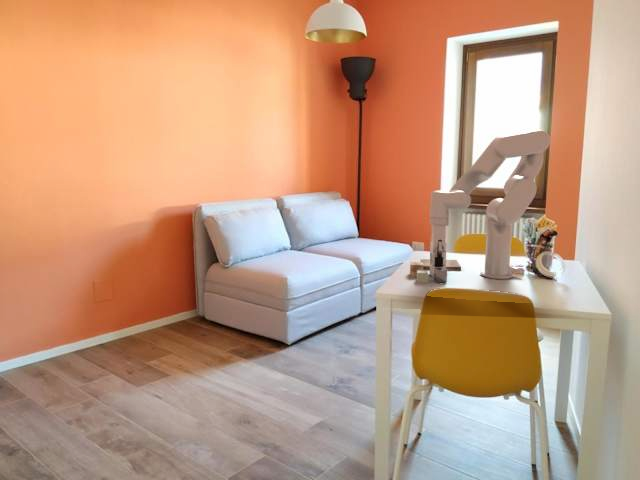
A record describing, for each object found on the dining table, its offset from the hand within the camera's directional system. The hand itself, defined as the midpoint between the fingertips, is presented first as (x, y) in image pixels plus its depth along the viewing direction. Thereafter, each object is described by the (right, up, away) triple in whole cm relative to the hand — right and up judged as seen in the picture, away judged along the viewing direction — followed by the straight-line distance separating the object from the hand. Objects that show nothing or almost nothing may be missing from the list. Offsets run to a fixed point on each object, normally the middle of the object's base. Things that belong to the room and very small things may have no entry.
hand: (437, 264), depth 213 cm
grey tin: (-1, -6, -9) cm, 11 cm away
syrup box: (0, -5, +1) cm, 5 cm away
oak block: (-8, -5, +2) cm, 10 cm away
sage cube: (-8, -6, -8) cm, 13 cm away
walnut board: (+5, -2, +17) cm, 18 cm away
